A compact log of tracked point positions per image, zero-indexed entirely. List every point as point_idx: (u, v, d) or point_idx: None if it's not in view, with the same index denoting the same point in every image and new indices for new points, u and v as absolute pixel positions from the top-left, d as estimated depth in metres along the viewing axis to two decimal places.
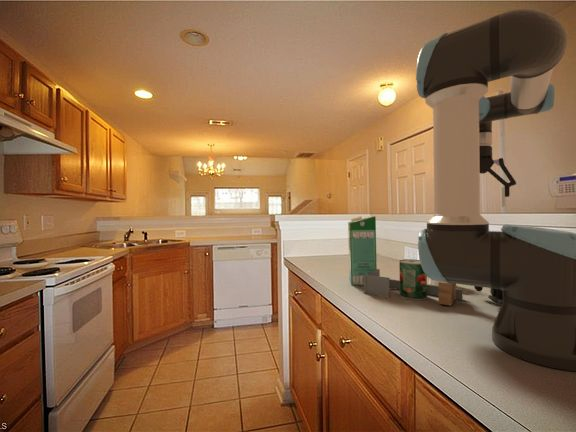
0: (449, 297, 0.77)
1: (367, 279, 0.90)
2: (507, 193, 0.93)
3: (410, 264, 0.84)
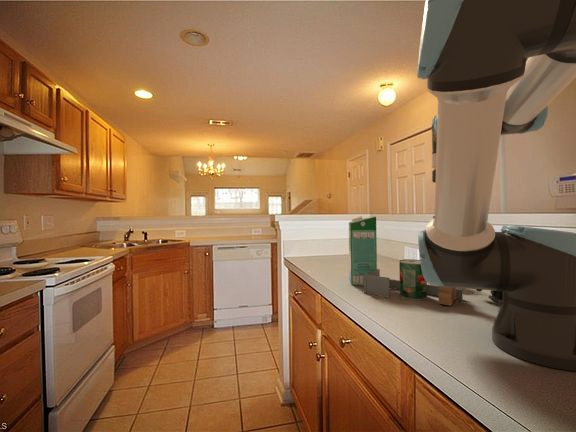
0: (449, 297, 0.77)
1: (367, 279, 0.90)
2: None
3: (410, 264, 0.84)
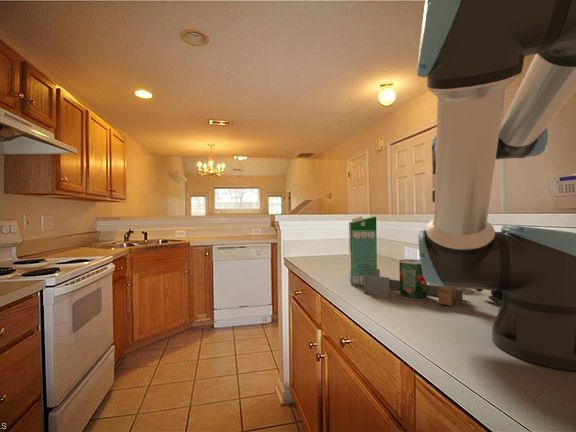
0: (449, 297, 0.77)
1: (367, 279, 0.90)
2: None
3: (410, 264, 0.84)
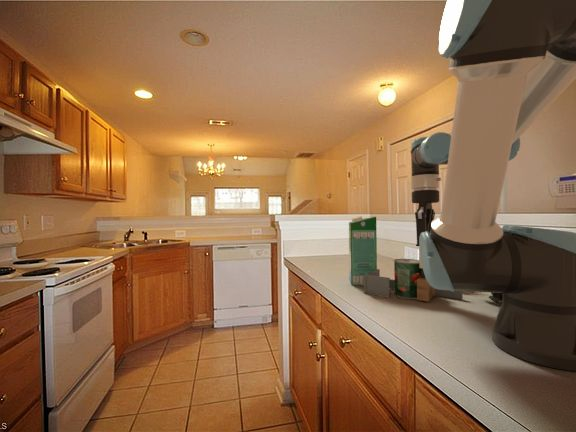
0: (426, 293, 0.80)
1: (367, 279, 0.90)
2: None
3: (404, 263, 0.85)
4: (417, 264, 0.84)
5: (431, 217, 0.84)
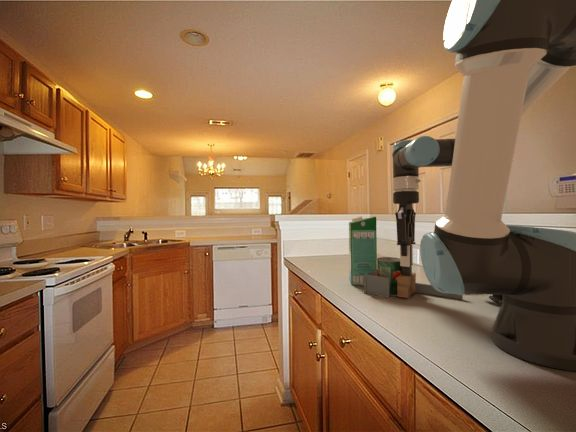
0: (406, 290, 0.84)
1: (367, 279, 0.90)
2: None
3: (386, 261, 0.88)
4: (398, 262, 0.88)
5: (411, 217, 0.88)
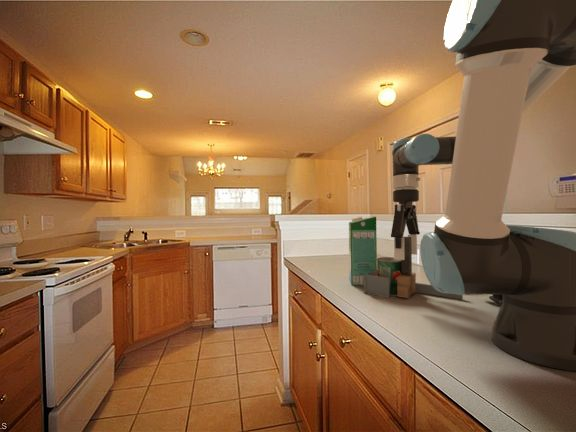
0: (406, 290, 0.84)
1: (367, 279, 0.90)
2: None
3: (386, 261, 0.88)
4: (398, 262, 0.88)
5: (412, 215, 0.88)
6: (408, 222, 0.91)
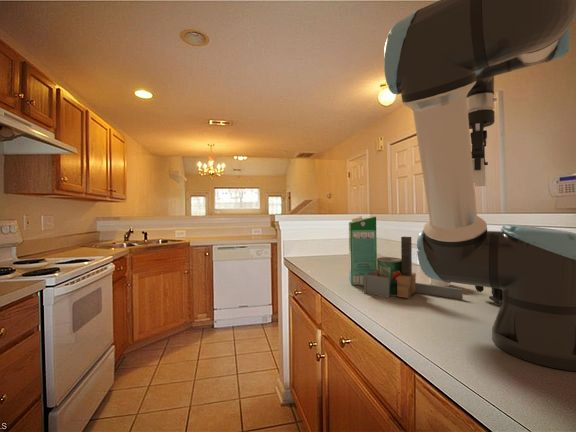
0: (406, 290, 0.84)
1: (367, 279, 0.90)
2: None
3: (386, 261, 0.88)
4: (398, 262, 0.88)
5: None
6: None
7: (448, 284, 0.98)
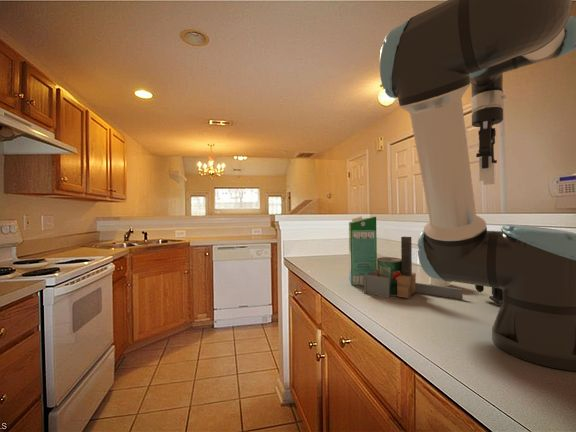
0: (406, 290, 0.84)
1: (367, 279, 0.90)
2: None
3: (386, 261, 0.88)
4: (398, 262, 0.88)
5: (493, 138, 0.82)
6: None
7: (448, 284, 0.98)
